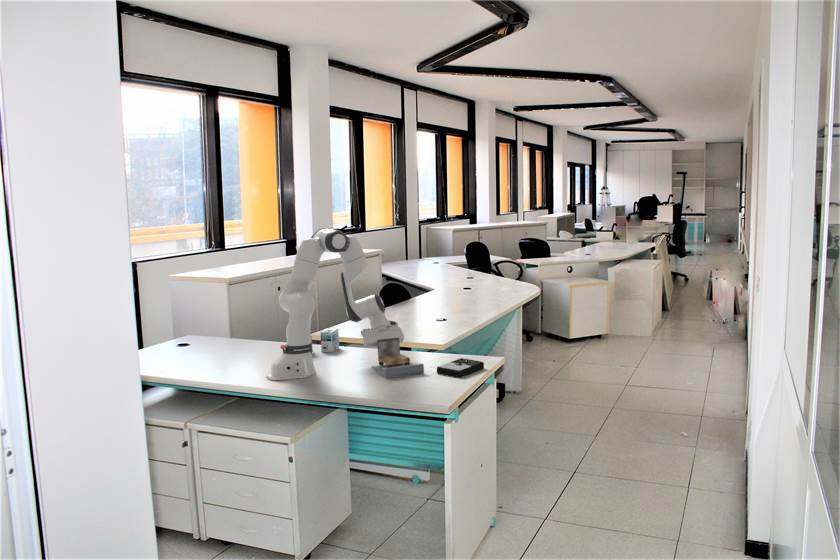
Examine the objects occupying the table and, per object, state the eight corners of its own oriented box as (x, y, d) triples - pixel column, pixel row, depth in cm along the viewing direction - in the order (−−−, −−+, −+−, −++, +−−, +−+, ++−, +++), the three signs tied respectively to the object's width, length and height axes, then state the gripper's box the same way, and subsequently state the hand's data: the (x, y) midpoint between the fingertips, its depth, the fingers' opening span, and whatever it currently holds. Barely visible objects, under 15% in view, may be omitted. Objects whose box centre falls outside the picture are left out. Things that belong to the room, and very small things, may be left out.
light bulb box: (333, 352, 358) (332, 332, 356) (320, 352, 359) (319, 332, 358) (339, 347, 368) (338, 328, 367) (327, 347, 370) (326, 327, 368)
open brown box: (387, 369, 315) (385, 343, 314) (378, 365, 328) (376, 339, 328) (410, 366, 319) (409, 340, 318) (400, 362, 332) (398, 337, 332)
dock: (386, 380, 305) (385, 368, 304) (370, 368, 327) (370, 357, 326) (423, 375, 311) (423, 364, 311) (406, 364, 333) (405, 353, 332)
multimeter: (484, 369, 317) (484, 358, 316) (459, 379, 302) (459, 368, 302) (461, 365, 325) (461, 355, 325) (436, 374, 311) (436, 363, 310)
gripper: (361, 325, 332) (367, 349, 324) (400, 321, 339) (408, 344, 331) (358, 333, 337) (365, 356, 329) (398, 328, 344) (405, 351, 336)
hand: (387, 350), depth 330 cm, fingers closed
